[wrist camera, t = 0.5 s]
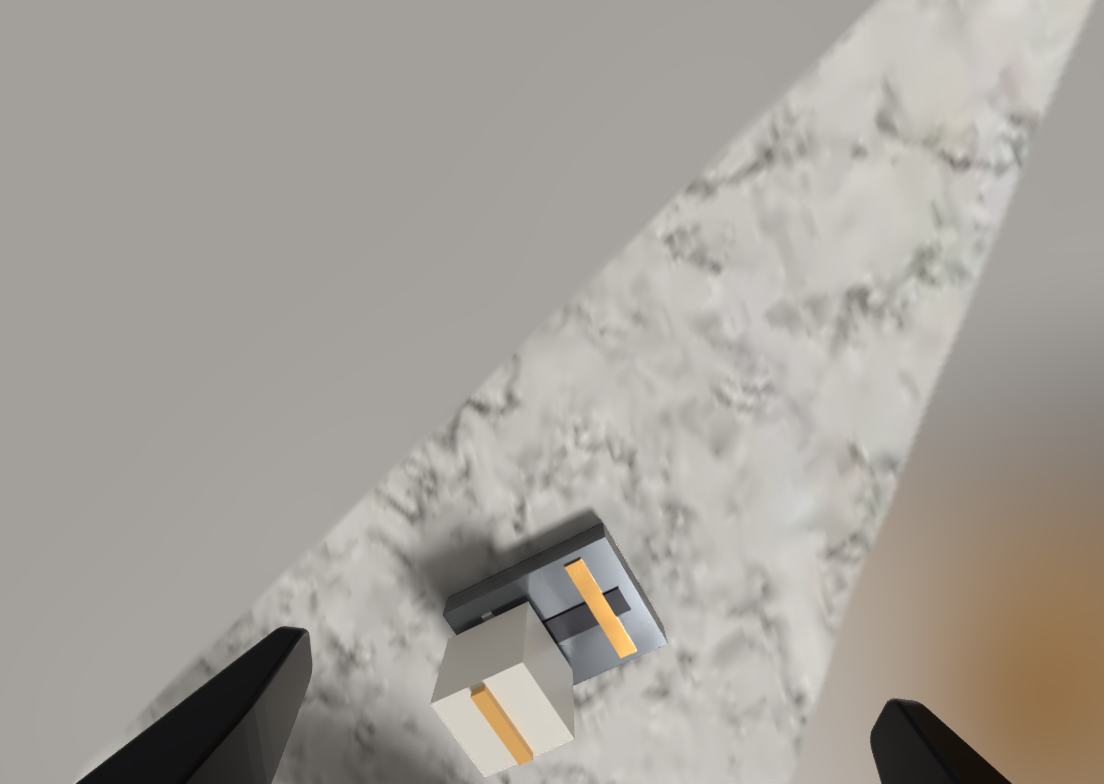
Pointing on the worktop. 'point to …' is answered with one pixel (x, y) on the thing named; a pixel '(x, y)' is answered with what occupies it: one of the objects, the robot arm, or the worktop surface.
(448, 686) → the block
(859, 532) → the worktop surface
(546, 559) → the panel
